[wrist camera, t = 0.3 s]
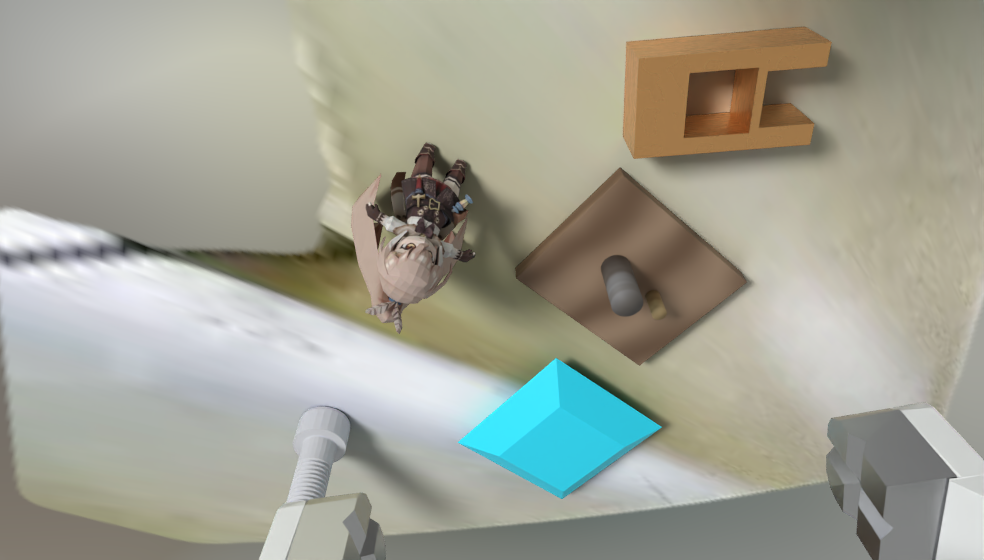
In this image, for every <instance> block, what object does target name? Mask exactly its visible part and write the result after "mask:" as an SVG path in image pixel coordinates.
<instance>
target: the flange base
mask: <svg viewBox="0 0 984 560" xmlns="http://www.w3.org/2000/svg"><path fill="white" fill-rule="evenodd" d="M515 270H516V279H518V280H519V281H521V282H522V283H523V284H525V285H526V286H528V287H529V288H530V289H532V290H533V291H535V292H536V293H537V294H539V295H540V296H542V297H543V298H545V299H546V300H547V301H549V302H550V303H552V304H553V305H554V306H556V307H557V308H559V309H560V310H562V311H563V312H564V313H566V314H567V315H569V316H570V317H571V318H573V319H574V320H576V321H577V322H578V323H580V324H581V325H583V326H584V327H586V328H587V329H588V330H590V331H591V332H593V333H594V334H595V335H597V336H598V337H600V338H601V339H602V340H604V341H605V342H607V343H608V344H610V345H611V346H612V347H614V348H615V349H617V350H618V351H619V352H621V353H622V354H624V355H625V356H626V357H628V358H629V359H631V360H632V361H634V362H635V363H636V364H638V365H639V366H640V365H641V364H642V363H643V362H645V361H646V360H647V359H649V358H650V357H651V356H652V355H654V354H655V353H656V352H658V351H659V350H660V349H661V348H663V347H664V346H665V345H667V344H668V343H669V342H671V341H672V340H673V339H674V338H676V337H677V336H678V335H680V334H681V333H682V332H683V331H685V330H686V329H687V328H689V327H690V326H691V325H692V324H694V323H695V322H696V321H698V320H699V319H700V318H701V317H703V316H704V315H705V314H707V313H708V312H709V311H711V310H712V309H713V308H714V307H716V306H717V305H718V304H720V303H721V302H722V301H723V300H725V299H726V298H727V297H729V296H730V295H731V294H732V293H734V292H735V291H736V290H738V289H739V288H740V287H741V286H743V285H744V284H745V283H747V281H746V280H745V278H744V276H743V275H742V273H741V272H740V271H739V270H738V269H737V268H736V267H735V266H733V265H732V264H731V263H730V262H729V261H728V260H726V259H725V258H724V257H723V256H722V255H721V254H719V253H718V252H717V251H716V250H715V249H714V248H713V247H711V246H710V245H709V244H708V243H707V242H706V241H704V240H703V239H702V238H701V237H700V236H699V235H698V234H696V233H695V232H694V231H693V230H692V229H691V228H689V227H688V226H687V225H686V224H685V223H684V222H683V221H681V220H680V219H679V218H678V217H677V216H676V215H674V214H673V213H672V212H671V211H670V210H669V209H668V208H666V207H665V206H664V205H663V204H662V203H661V202H659V201H658V200H657V199H656V198H655V197H654V196H652V195H651V194H650V193H649V192H648V191H647V190H646V189H644V188H643V187H642V186H641V185H640V184H639V183H637V182H636V181H635V180H634V179H633V178H632V177H631V176H629V175H628V174H627V173H626V172H625V171H624V170H622V169H621V168H619V169H618V170H617V171H616V172H615V173H614V174H613V175H612V176H610V177H609V178H608V179H607V180H606V181H605V182H604V183H603V184H602V185H601V186H600V187H599V188H598V189H597V190H596V191H595V192H594V193H593V194H592V195H591V196H590V197H589V198H588V199H587V200H586V201H585V202H584V203H583V204H581V205H580V206H579V207H578V208H577V209H576V210H575V211H574V212H573V213H572V214H571V215H570V216H569V217H568V218H567V219H566V220H565V221H564V222H563V223H562V224H561V225H560V226H559V227H558V228H557V229H556V230H555V231H553V232H552V233H551V234H550V235H549V236H548V237H547V238H546V239H545V240H544V241H543V242H542V243H541V244H540V245H539V246H538V247H537V248H536V249H535V250H534V251H533V252H532V253H531V254H530V255H529V256H528V257H527V258H526V259H524V260H523V261H522V262H521V263H520V264H519V265H518V266H517V267H516V268H515Z"/></svg>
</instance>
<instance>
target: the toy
mask: <svg viewBox="0 0 984 560" xmlns="http://www.w3.org/2000/svg"><path fill="white" fill-rule="evenodd" d="M434 151H435V146H433V145H432V144H430V143H425V144H424V146H423V148H422V149H421V151H420V153H419V154H418V156H417V157H416V159H415V163H416V165H415V167H414V170H413V173H412V175H411V178H408V179H405V174H406V172H397V173H396V175H395V176H394V178H393V180H392V184H391V199H392V205H393V210H394V215H395V217H394V216H391V217H389V216H387V215H386V214H384V213H382V212H380V210H379V208H378V205H377V204H375V207H374V206H373V205H374V201H375V197H376V193H377V189H378V185H379V181H380V177H381V174H380V175H379V177H378V178H377V179H376V180H375V181H374V182H373V183H372V184H371V185H370V186H369V187H368V188H367V189H366V190H365V191H364V192H363V194H362V195H361V196H360V197H359V198H358V200H357V201H356V202H355V204H354V205H353V206H352V219H351V228H352V233H353V238H354V243H355V248H356V253H357V259H358V264H359V267H360V269H361V272H362V274H363V277H364V279H365V282H366V285H367V287H368V290H369V292H370V295H371V300H372V307H371V308H368V309H367V310H366V311H365V312H366V313H369V314H371V315H376V316H377V317H378V318H379V319H380V320H381V321H382V323H388V322H394V323H395V327H396V331H397V332H398V333H399V334H400V332H401V329H402V320H401V313H402V311H403V309H404V308H406V307H407V306H408V305H409V304H410V303H418V302H419V301H420V300H422V299H425V298H428V297H430V296H431V295H433V294H434V293H435V292H437V291H438V290H439V289H440V288H441V287H443V286H444V285H445V284H446V282H447V280H448V279H449V277H450V275H451V273H452V267H453V266H454V265H455V263H456V262H457V261H458V260H459V261H462V262H468V261H469V260H471V259H472V258H474V257H475V252H472V253H470V252H471V251H472V250H470V249H469V250H466V251H461V248H462V243H463V238H464V233H465V228H466V223H467V219H466V220H465V222H464V223H463V225H462V227H461V228H460V230H459V232H458V233H457V235H456V236H454V234H453V232H452V230H453V229H454V228H455V227H456V225H457V224H458V223H459V222H461V221H462V220H464V219H465V218H466V216H467V213H468V210H466V209H465V207H466V206H467V205H468V203H470V204H472V203H473V201H472V199H471V198H470V197H469V196H468V195H465V199H464V200H462V201H460V200H459V199H458V196H459V191H460V187H461V184H462V183H463V182H464V180H465V169H466V163H465V162H464V161H463V160H459V159H457V161H456V162H455V164H454V165H453V167H452V168H451V169H450V170H449V171H448V173H447V174H446V178H445V180H444V181H443V182H441V181H439V180H437V179H434V178H432V168H433V166H434V163H435V160H434ZM404 199H405V203H406V212H405V209H404ZM467 218H468V217H467ZM373 220H375V221H376V222H378V223H373ZM383 225H384V226H385V228H386V230H387V231H391V232H393V233H394V234H396V235H398V236H396V237H395V238H393V239H392V240H390V242H389V243H388V244H387V245H386V246H385V248H384V249H383V244H384V241H385V238H386V237H384V238H383V240H382V242H381V244H380V247H379V242H380V237H381V232H382V227H383ZM448 234H449V235H448ZM447 235H448V236H447ZM446 236H447V238H446V239H445V240H444V241H442V240H443V239H444V238H445V237H446ZM398 242H399V243H398ZM397 243H398V244H397ZM378 247H379V253H378ZM449 271H450V272H449ZM448 272H449V273H448ZM447 273H448V275H447V276H446V278H445V279H444V281H443V282H442V283H441V284H439V285H438V283H439V282H440V281H441V279H442V278H443V276H445V275H446V274H447ZM437 285H438V286H437ZM436 286H437V287H436Z"/></svg>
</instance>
